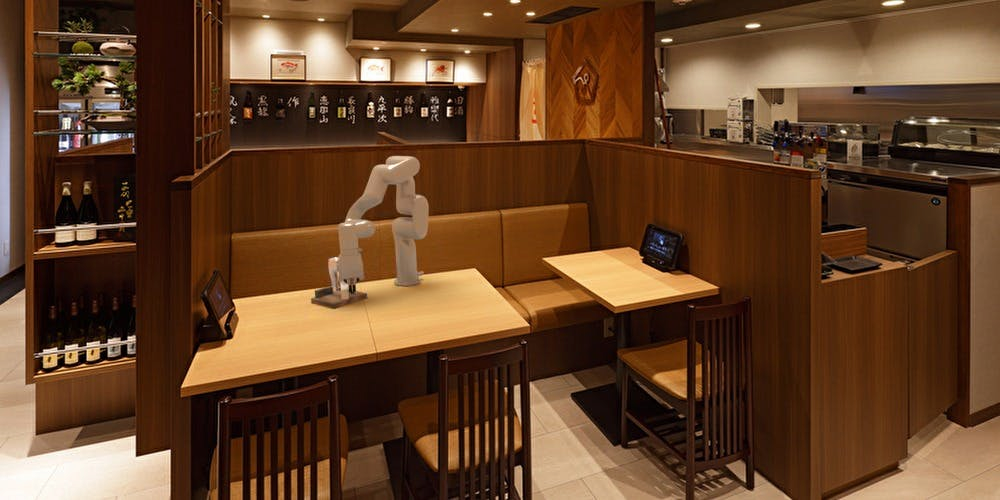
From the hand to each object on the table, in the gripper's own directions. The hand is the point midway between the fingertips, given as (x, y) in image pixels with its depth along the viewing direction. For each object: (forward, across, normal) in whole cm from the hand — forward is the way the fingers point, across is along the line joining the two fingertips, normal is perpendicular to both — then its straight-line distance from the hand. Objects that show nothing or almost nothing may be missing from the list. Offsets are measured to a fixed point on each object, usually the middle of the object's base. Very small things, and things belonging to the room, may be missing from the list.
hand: (352, 293), depth 242 cm
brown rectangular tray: (+4, +6, -3) cm, 7 cm away
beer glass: (+4, +6, -19) cm, 20 cm away
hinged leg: (+1, +3, -4) cm, 5 cm away
